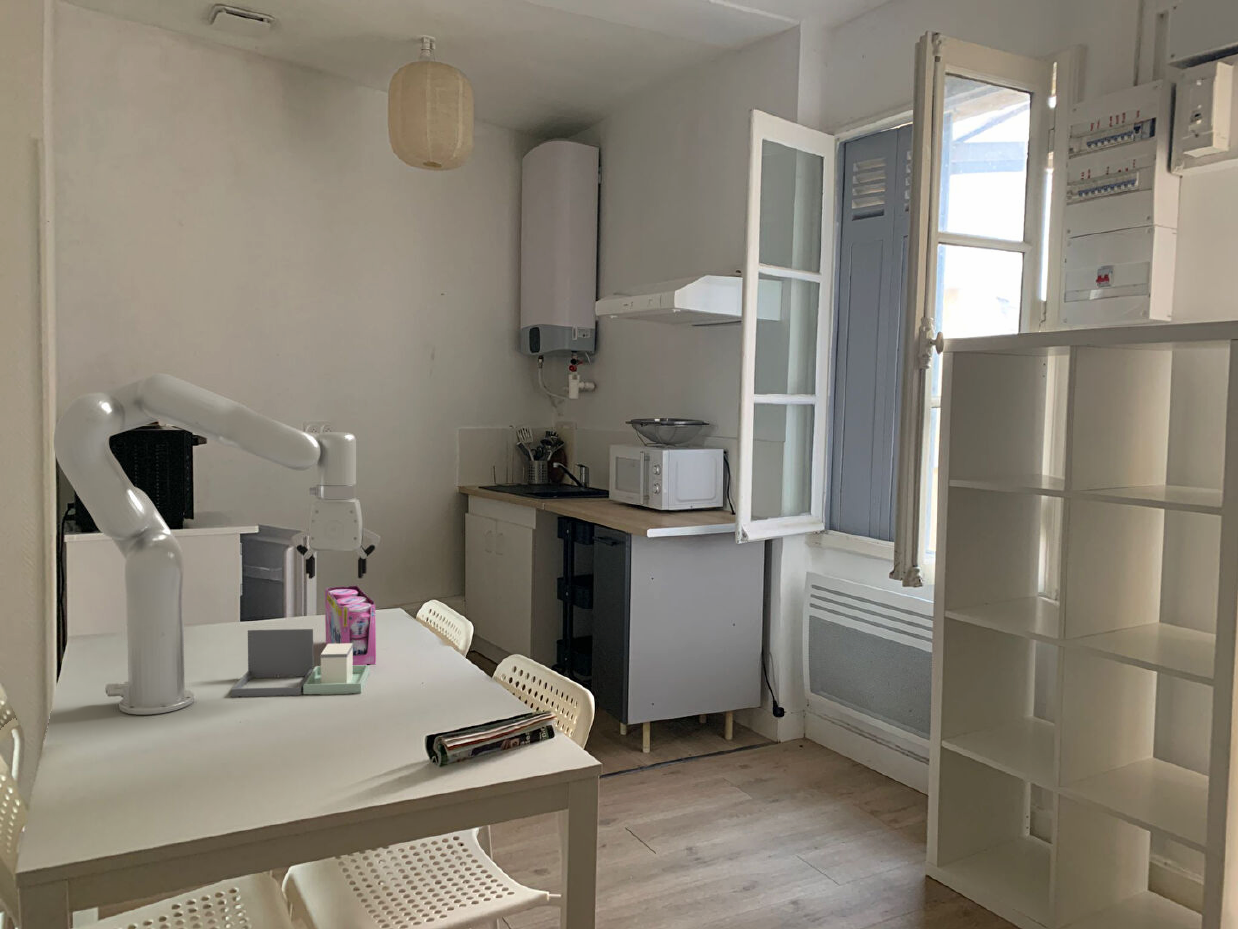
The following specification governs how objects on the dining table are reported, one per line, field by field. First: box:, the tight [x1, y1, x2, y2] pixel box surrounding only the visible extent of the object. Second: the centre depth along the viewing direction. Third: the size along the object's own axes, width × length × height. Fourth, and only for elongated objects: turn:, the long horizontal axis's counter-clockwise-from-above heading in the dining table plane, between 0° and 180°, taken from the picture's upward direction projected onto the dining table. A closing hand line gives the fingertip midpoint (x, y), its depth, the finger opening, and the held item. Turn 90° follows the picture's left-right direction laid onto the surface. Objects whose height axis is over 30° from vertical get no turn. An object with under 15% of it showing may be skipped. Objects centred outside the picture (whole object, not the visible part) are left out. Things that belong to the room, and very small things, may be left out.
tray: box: [302, 665, 370, 695], centre depth 189 cm, size 11×13×2 cm
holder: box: [230, 628, 314, 698], centre depth 187 cm, size 13×13×10 cm
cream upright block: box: [319, 643, 353, 684], centre depth 188 cm, size 5×8×7 cm, turn 8°
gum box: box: [324, 585, 377, 665], centre depth 211 cm, size 24×8×14 cm, turn 26°
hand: (336, 577), depth 187 cm, fingers open, 9 cm apart
